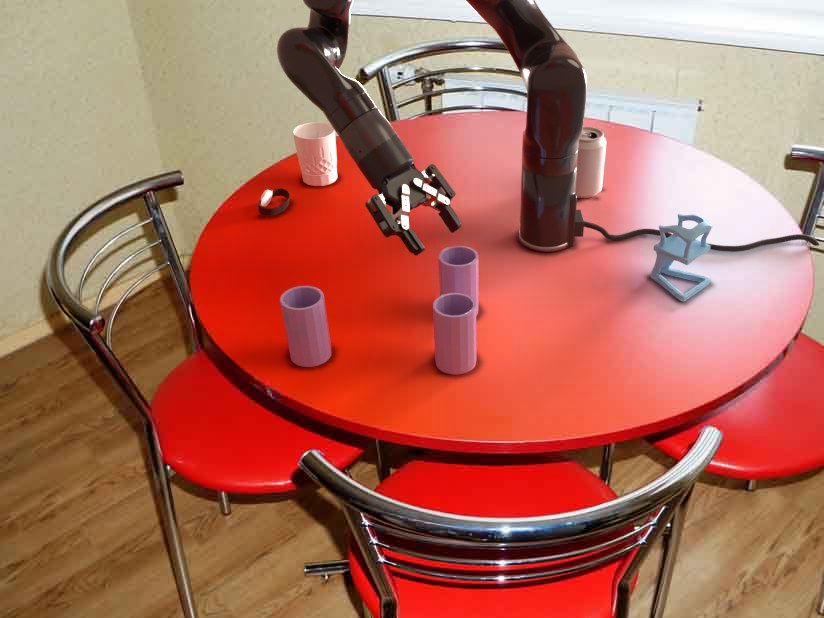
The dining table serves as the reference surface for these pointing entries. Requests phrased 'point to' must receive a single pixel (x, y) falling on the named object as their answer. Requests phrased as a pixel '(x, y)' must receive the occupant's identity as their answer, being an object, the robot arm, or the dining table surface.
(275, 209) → the watch
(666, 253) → the chair
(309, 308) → the end cup
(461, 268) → the middle cup
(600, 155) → the can
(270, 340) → the dining table surface
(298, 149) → the white cup
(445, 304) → the cup
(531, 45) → the robot arm
